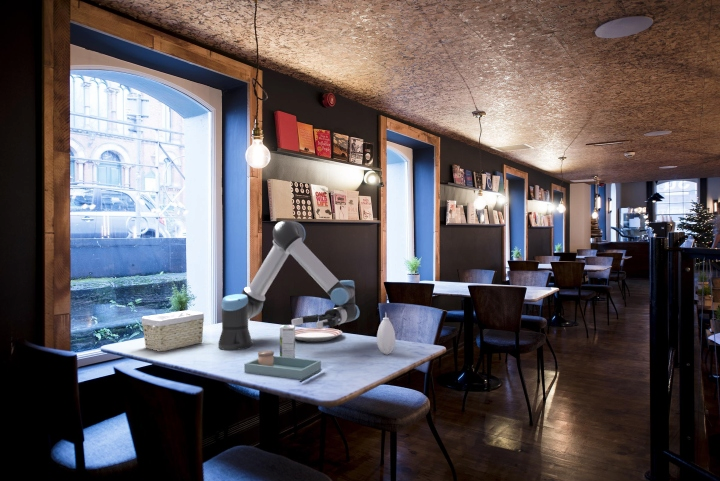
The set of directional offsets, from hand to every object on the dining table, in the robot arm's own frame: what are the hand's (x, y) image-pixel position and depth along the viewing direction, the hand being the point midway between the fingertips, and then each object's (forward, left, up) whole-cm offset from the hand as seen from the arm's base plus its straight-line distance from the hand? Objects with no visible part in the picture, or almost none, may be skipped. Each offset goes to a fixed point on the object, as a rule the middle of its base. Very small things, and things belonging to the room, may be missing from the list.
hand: (304, 324), depth 197 cm
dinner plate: (-15, +35, -14) cm, 41 cm away
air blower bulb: (+30, +17, -14) cm, 37 cm away
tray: (+5, -24, -14) cm, 28 cm away
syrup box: (-2, -10, -14) cm, 17 cm away
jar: (-3, -24, -13) cm, 27 cm away
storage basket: (-69, -4, -14) cm, 70 cm away
